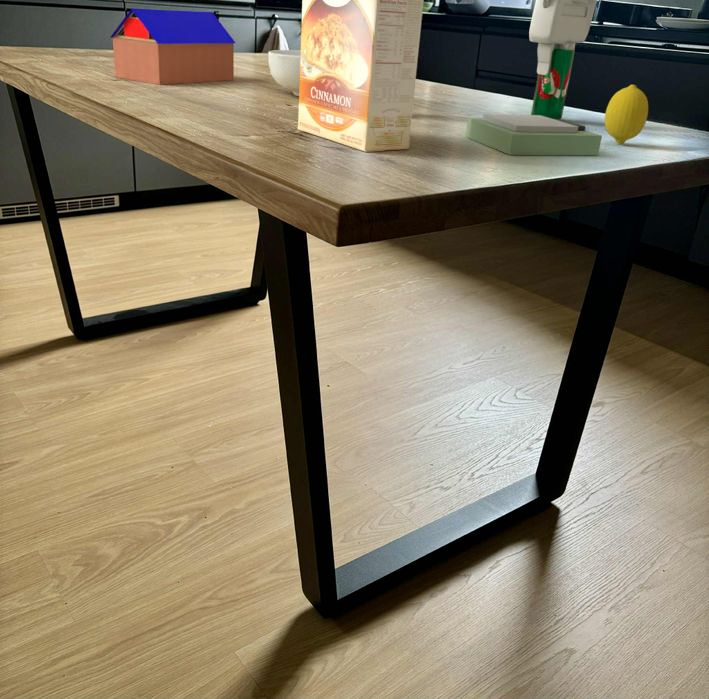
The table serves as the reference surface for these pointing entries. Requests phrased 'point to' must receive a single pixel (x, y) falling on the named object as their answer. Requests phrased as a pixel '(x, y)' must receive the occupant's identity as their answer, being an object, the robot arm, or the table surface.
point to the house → (172, 47)
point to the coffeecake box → (359, 71)
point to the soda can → (554, 83)
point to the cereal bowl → (286, 68)
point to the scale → (532, 135)
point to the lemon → (626, 114)
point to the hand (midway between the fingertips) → (552, 73)
